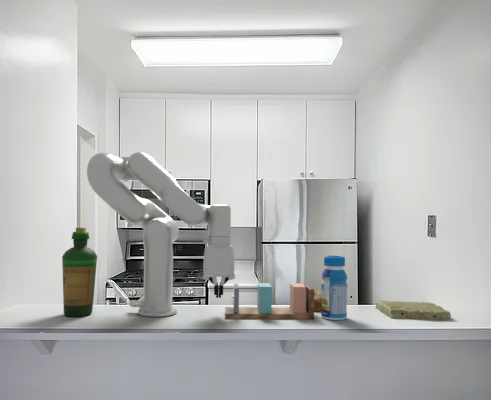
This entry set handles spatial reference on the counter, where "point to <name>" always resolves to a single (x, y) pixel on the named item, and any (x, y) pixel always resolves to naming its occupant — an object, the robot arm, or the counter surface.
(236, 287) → the bookend
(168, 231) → the robot arm
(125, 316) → the counter surface
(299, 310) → the salmon pink block
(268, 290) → the teal rectangular block
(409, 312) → the decorative tile
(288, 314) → the wooden book rack
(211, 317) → the counter surface
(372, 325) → the counter surface
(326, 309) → the beverage bottle
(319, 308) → the bread roll
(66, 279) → the bottle
